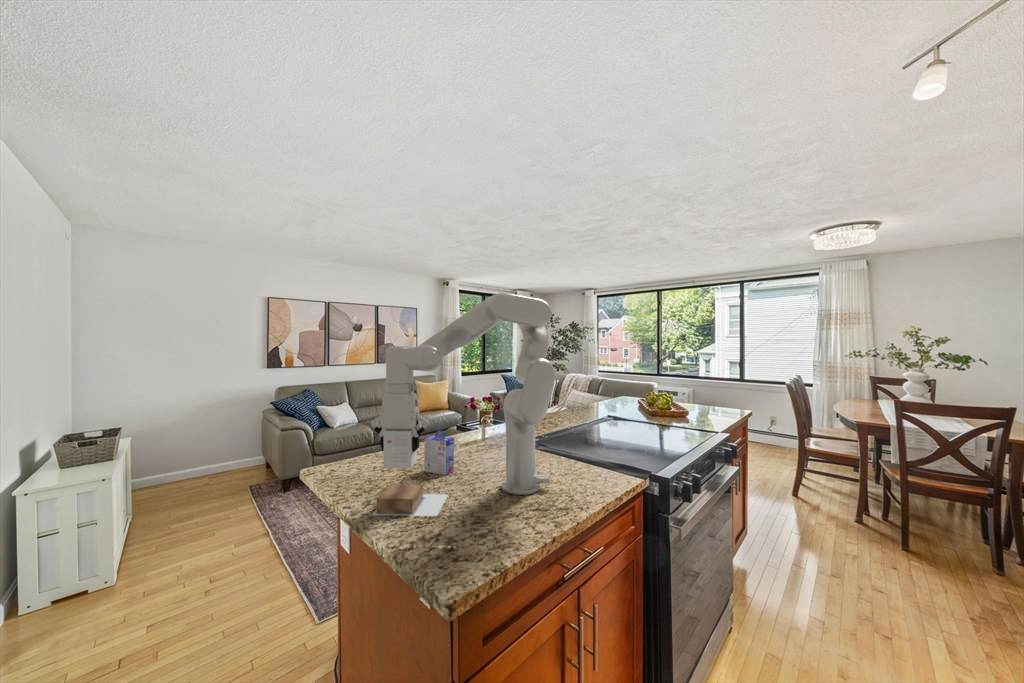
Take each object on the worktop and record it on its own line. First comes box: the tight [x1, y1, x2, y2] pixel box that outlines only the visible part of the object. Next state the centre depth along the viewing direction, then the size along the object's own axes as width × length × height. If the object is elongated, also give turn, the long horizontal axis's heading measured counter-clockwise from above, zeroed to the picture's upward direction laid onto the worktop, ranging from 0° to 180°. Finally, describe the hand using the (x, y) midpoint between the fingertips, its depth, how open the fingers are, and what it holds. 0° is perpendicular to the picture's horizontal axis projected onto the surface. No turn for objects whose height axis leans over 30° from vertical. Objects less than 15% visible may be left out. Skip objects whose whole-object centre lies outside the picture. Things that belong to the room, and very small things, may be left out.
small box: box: [383, 429, 418, 469], centre depth 107 cm, size 8×6×10 cm
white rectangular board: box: [371, 493, 449, 517], centre depth 107 cm, size 18×14×1 cm
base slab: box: [375, 483, 424, 514], centre depth 107 cm, size 10×10×4 cm
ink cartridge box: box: [423, 429, 455, 476], centre depth 135 cm, size 10×6×14 cm, turn 66°
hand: (400, 449), depth 106 cm, fingers closed on small box, 8 cm apart
